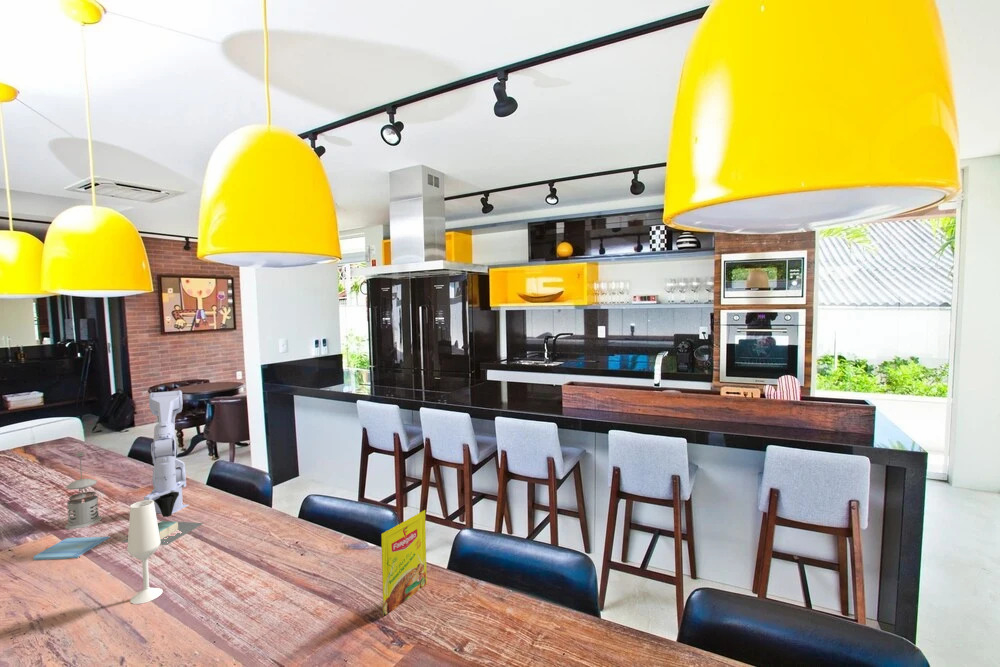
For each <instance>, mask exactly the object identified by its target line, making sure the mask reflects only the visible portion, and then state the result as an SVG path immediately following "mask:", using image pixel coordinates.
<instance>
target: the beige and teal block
mask: <svg viewBox="0 0 1000 667" xmlns="http://www.w3.org/2000/svg"><path fill="white" fill-rule="evenodd" d="M178 522H179V521H172V522H168V520H167V521H166V520H161V521H159V522H157V523H158V529H159V535H160V540H161V539H162V538H164V537H166V536H168V535H169V534H171V533H173V532H175V531H176V530H178Z"/></svg>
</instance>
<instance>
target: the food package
mask: <svg viewBox="0 0 1000 667" xmlns="http://www.w3.org/2000/svg"><path fill="white" fill-rule="evenodd" d="M426 528H427V527H426V509H424V510H422V511H420V512H419V513H417V514H415V515H414V516H412V517H410V518H408V519H406V520H404V521H402V522H401V523H399V524H397V525H395V526H394V527H392V528H390V529H387V530H385V531H384V532H382V533H381V534H380V535H381V538H380V539H381V569H382V570H381V572H382V576H381V577H382V607H383V609H382V611H383V617H384V618H385V617H386V616H387V615H389V614H390V613H391V612H393V611H394V610H395V609H396V608H398V607H400V606H401V605H402V604H403V603H405V602H406V601H407V600H408V599H410V598H411V597H413V596H414V595H415V594H416V593H418V592H419V591H421V590H422V589H423V588H424V587H426V586H427V585H428V576H427V574H428V573H427V535H426V533H427V531H426Z"/></svg>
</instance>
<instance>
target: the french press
mask: <svg viewBox="0 0 1000 667" xmlns="http://www.w3.org/2000/svg"><path fill="white" fill-rule="evenodd" d="M82 456H84V452H82V451H78V452H77V453H76V457H79V463H80V464H79V467H80V468H79V469H80V470H82ZM82 475H83V473H82V471H80V479H76V480H74V481H72V482H70V483H69V484H68V485H66V486H65V488H66V489H68V490H78V491H79V492H78V493H75V494H72V495H70V496H69V497H68V500H69V501H68V502H67V505H66V506H67V520H68V521H67V522H68V523H66V525H65V526H64V528H65V529H67V530H77V529H76V528H78V529H83V528H82V527H84V528H87V527H89V526H90V525H91V526H93V525H95V523H96V524H98V523H100V522H101V521H102V520H103V517H101V516H100V514H99V505H98V504H99V502H98V501H99V499H98V495H96V494H97V492H96V491H87V488H89V487H93V486H95V485H96V484H97V483H98V480H96V479H93V478H83V476H82ZM83 490H85V492H84V491H83ZM82 500H84V502H82ZM101 519H102V520H101ZM100 520H101V521H100ZM99 521H100V522H99ZM97 522H98V523H97ZM86 526H87V527H86ZM91 526H90V527H91Z"/></svg>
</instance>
